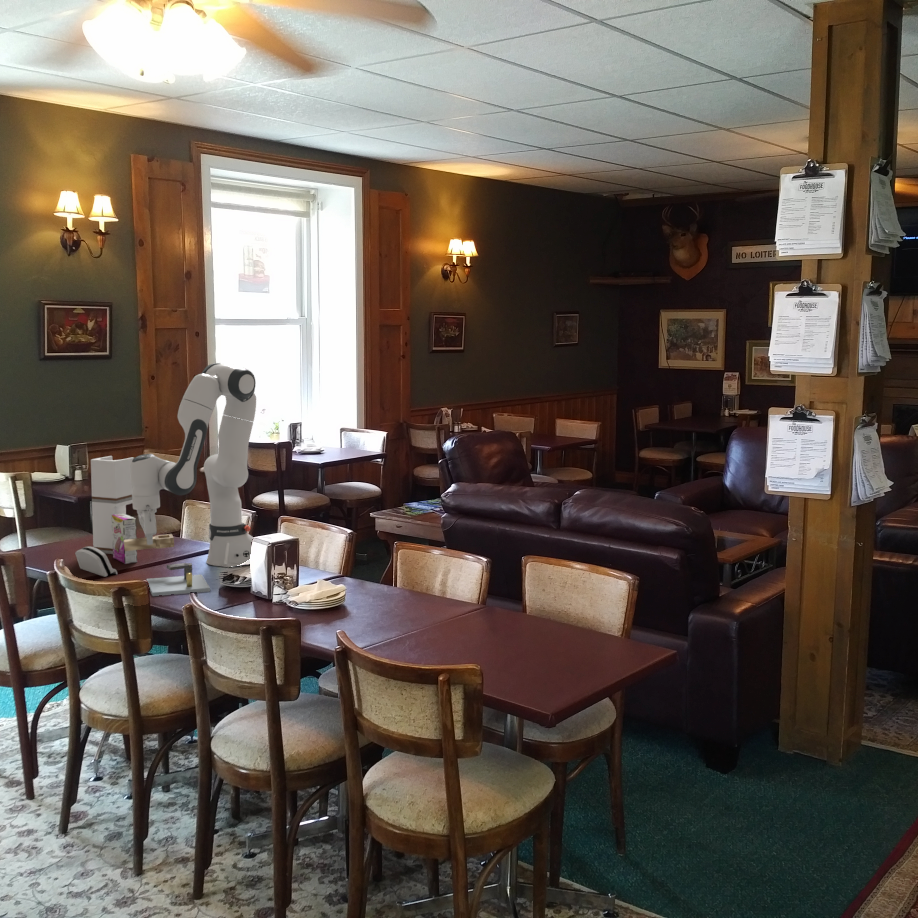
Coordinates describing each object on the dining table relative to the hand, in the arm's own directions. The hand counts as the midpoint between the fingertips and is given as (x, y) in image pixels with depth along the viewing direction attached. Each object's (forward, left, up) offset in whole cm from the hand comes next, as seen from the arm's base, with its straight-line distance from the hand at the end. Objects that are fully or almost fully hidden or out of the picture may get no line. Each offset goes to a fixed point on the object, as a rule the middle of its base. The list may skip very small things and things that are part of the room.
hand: (149, 542), depth 336 cm
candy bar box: (+6, -27, -12) cm, 30 cm away
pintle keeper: (-9, +15, -12) cm, 21 cm away
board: (-7, +16, -12) cm, 21 cm away
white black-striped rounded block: (+17, -13, -12) cm, 25 cm away
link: (0, 0, -2) cm, 2 cm away
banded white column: (+8, -45, -12) cm, 47 cm away
